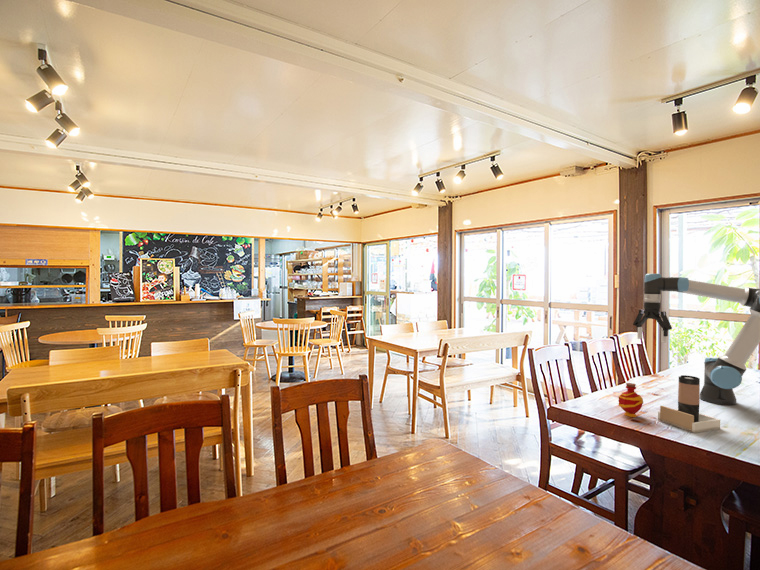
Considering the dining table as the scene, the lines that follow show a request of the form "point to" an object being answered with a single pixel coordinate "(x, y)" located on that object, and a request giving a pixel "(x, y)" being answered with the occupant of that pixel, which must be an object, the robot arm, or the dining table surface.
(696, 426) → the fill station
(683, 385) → the travel mug
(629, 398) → the potion bottle
